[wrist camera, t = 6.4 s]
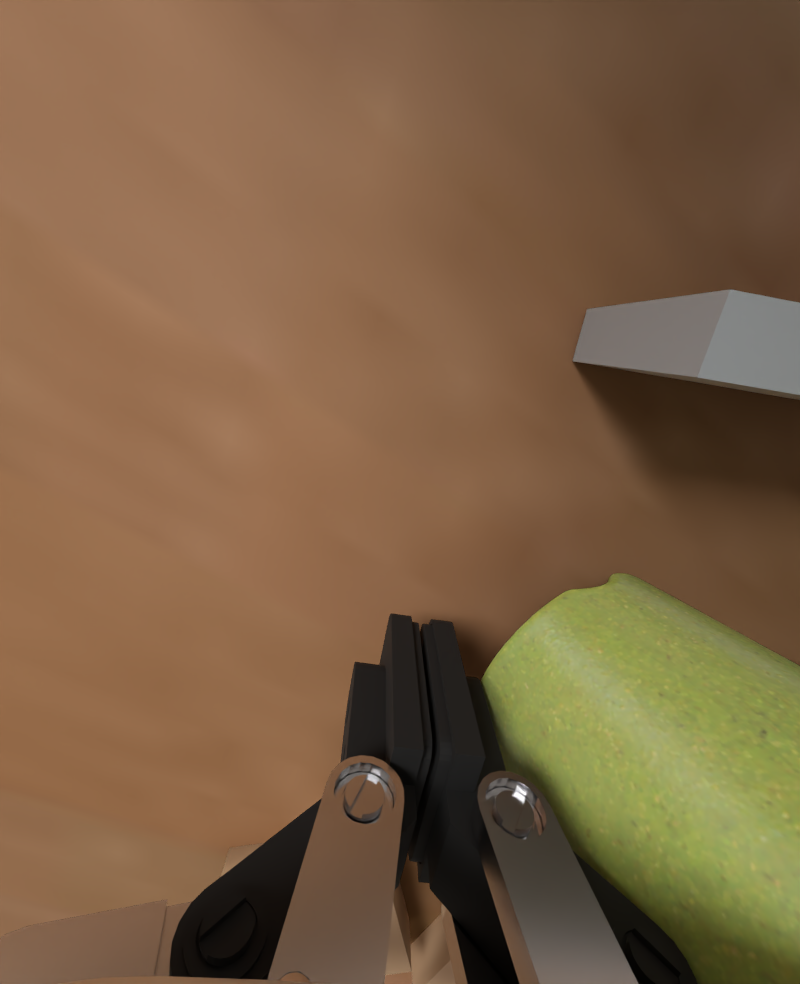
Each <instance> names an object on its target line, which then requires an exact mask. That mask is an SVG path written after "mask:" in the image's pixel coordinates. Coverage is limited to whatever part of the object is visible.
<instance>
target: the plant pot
mask: <svg viewBox="0 0 800 984" xmlns="http://www.w3.org/2000/svg"><path fill="white" fill-rule="evenodd" d="M481 685H482V688H483V691H484V695H485V698H486V702H487V705H488V709H489V712H490V716H491V719H492V723H493V726H494V730H495V733H496V737H497V740H498V744H499V747H500V751H501V754H502V758H503V761H504V765H505V768H506V771H507V772H513V773H515V774H518V775H520V776H522V777H524V778H525V779H527V780H528V781H530V782H531V783H533V784H534V785H535V786H536V787H537V788H538V789H539V790H540V791H541V792H542V793H543V795H544V796H545V798H546V800H547V801H548V803H549V804H550V806H551V808H552V810H553V812H554V814H555V816H556V818H557V820H558V822H559V824H560V826H561V828H562V830H563V832H564V834H565V836H566V838H567V840H568V842H569V844H570V846H571V848H572V850H573V851H574V852H575V853H576V854H577V855H578V856H580V857H581V858H582V859H583V860H584V861H585V862H586V863H588V864H589V865H590V866H591V867H592V868H593V869H594V870H596V871H597V872H598V873H599V874H600V875H601V876H602V877H604V878H605V879H606V880H607V881H608V882H609V883H610V884H611V885H613V886H614V887H615V888H616V889H617V890H618V891H619V892H621V893H622V894H623V895H624V896H625V897H626V898H627V899H629V900H630V901H631V902H632V903H633V904H634V905H635V906H637V907H638V908H639V909H640V910H641V911H642V912H643V913H645V914H646V915H647V916H648V917H649V918H650V919H651V920H652V921H654V922H655V923H656V924H657V925H658V926H659V927H660V928H661V929H662V930H663V931H664V932H665V933H666V934H667V935H668V936H669V937H670V938H671V939H672V940H673V941H674V942H675V944H676V945H677V947H678V948H679V950H680V951H681V952H682V954H683V955H684V957H685V958H686V960H687V962H688V964H689V966H690V968H691V970H692V972H693V974H694V976H695V978H696V980H697V984H800V666H799V665H798V664H796V663H794V662H792V661H790V660H788V659H786V658H784V657H783V656H781V655H779V654H777V653H775V652H773V651H771V650H770V649H768V648H766V647H764V646H762V645H760V644H759V643H757V642H755V641H753V640H751V639H749V638H748V637H746V636H744V635H742V634H740V633H738V632H737V631H735V630H733V629H731V628H729V627H728V626H726V625H724V624H722V623H720V622H718V621H717V620H715V619H713V618H711V617H709V616H707V615H706V614H704V613H702V612H700V611H698V610H697V609H695V608H693V607H691V606H689V605H687V604H686V603H684V602H682V601H680V600H678V599H676V598H674V597H673V596H671V595H669V594H667V593H665V592H663V591H661V590H660V589H658V588H656V587H654V586H652V585H650V584H649V583H647V582H645V581H643V580H642V579H640V578H637V577H635V576H633V575H630V574H624V573H615V574H612V575H611V576H610V577H609V579H608V582H607V583H606V584H603V585H601V586H597V587H591V588H585V589H572V590H568V591H565V592H563V593H562V594H560V595H559V596H557V597H556V598H554V599H553V600H551V601H550V602H549V603H547V604H546V605H545V606H543V607H542V608H541V609H539V610H538V611H537V612H536V613H535V614H534V615H533V616H532V617H531V618H529V619H528V620H527V621H526V622H525V623H524V624H523V625H522V626H521V627H520V628H519V629H518V630H517V631H516V632H515V633H514V634H513V636H512V637H511V638H510V639H509V640H508V641H507V642H506V643H505V645H504V646H503V647H502V648H501V649H500V651H499V652H498V653H497V655H496V656H495V657H494V659H493V660H492V662H491V663H490V665H489V667H488V668H487V670H486V672H485V674H484V675H483V677H482V680H481Z"/></svg>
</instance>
